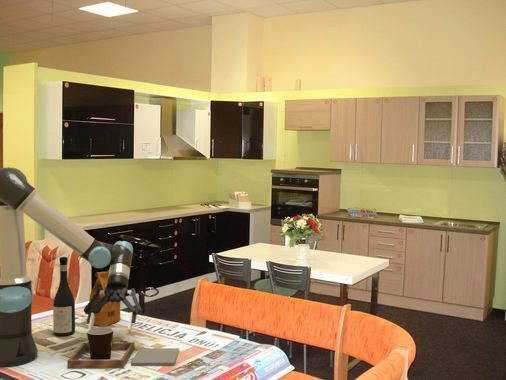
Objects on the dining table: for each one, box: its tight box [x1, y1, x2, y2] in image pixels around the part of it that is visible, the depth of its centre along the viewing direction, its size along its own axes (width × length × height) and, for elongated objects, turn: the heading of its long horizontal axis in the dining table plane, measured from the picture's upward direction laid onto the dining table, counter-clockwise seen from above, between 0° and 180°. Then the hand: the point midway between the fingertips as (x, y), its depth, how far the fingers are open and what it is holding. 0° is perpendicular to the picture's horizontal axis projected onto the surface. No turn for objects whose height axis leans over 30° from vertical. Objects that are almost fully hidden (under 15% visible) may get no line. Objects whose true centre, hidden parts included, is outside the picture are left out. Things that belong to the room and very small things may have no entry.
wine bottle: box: [52, 256, 76, 337], centre depth 210 cm, size 8×8×30 cm
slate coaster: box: [130, 347, 180, 367], centre depth 183 cm, size 14×14×1 cm
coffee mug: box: [86, 326, 114, 360], centre depth 183 cm, size 12×9×10 cm
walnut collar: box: [66, 342, 136, 369], centre depth 183 cm, size 18×18×2 cm
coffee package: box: [88, 270, 121, 327], centre depth 225 cm, size 10×12×22 cm
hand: (109, 331), depth 186 cm, fingers open, 13 cm apart
